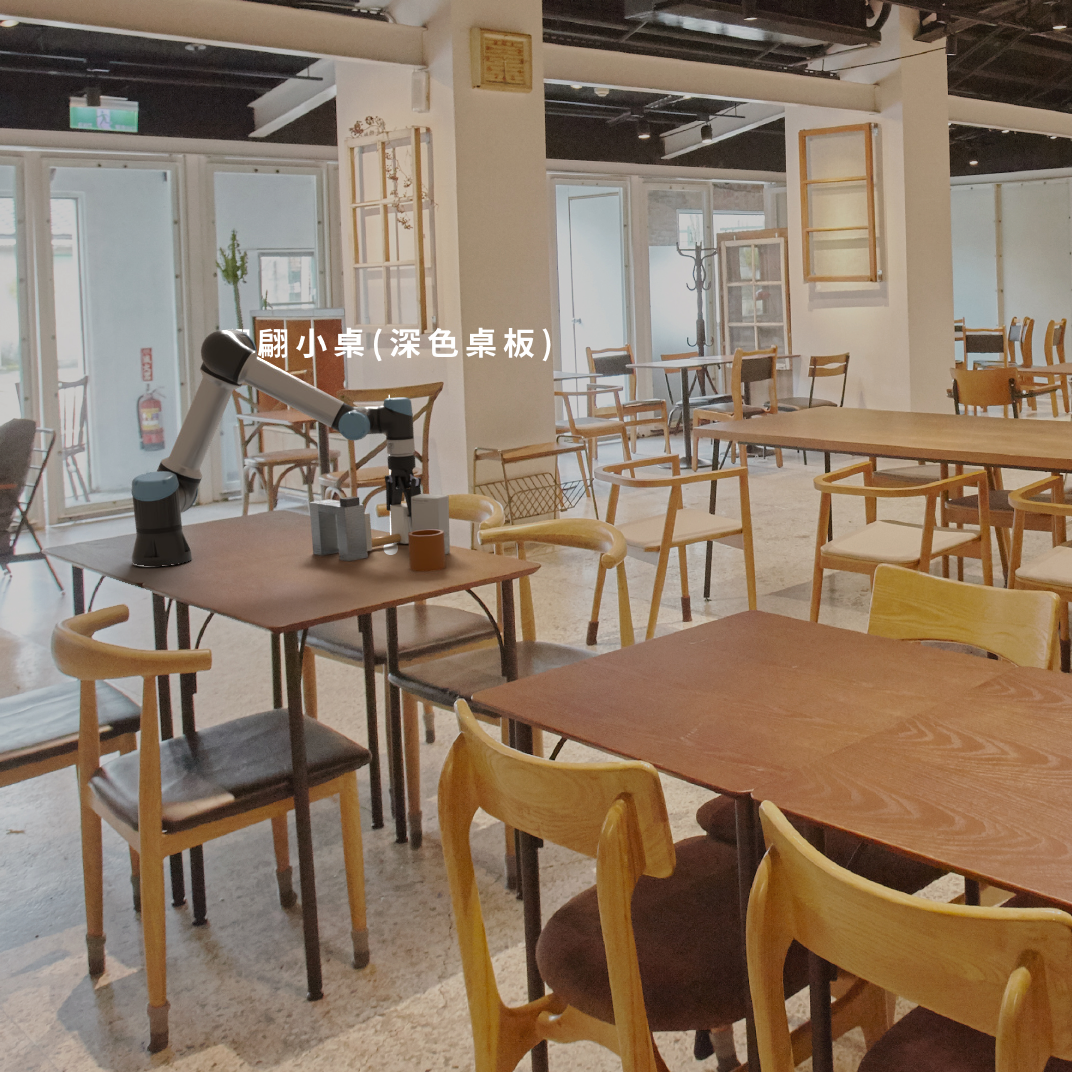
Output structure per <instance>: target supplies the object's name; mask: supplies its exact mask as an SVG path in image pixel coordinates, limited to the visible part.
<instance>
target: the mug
mask: <svg viewBox="0 0 1072 1072" xmlns="http://www.w3.org/2000/svg"><path fill="white" fill-rule="evenodd" d="M408 539H409V543H408V551H409V553H408V554H409V565H410V566H409V569H410V570H411V571H414V572H437V571H439V570H444V569H446V568H447V566H446V565H447V563H446V562H447V561H446V555H445V544H444V531H442V530H436V529H426V530H417V531H412V532H409V533H408Z"/></svg>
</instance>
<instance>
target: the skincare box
mask: <svg viewBox="0 0 1072 1072" xmlns="http://www.w3.org/2000/svg"><path fill="white" fill-rule="evenodd" d="M449 498H450V497H449V495H445V494H436V493H435V494H434V493H432V494H431V493H421V494H419V495H416V496H413V497H411V513H412V531H417V530H426V529H436V530H442V531H444V544H445V556H446V555H448V554H450V553H451V552H450V551H451V546H450V543H451V542H450V541H451V540H450V538H451V537H450V506H449V505H450V504H449V502H450V501H449V500H450V499H449Z"/></svg>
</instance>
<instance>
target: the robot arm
mask: <svg viewBox="0 0 1072 1072" xmlns="http://www.w3.org/2000/svg"><path fill="white" fill-rule="evenodd" d="M200 356H201V361H202V363H201V365H200V369H199V371H200V372H201V373H200V374H201V375H202V378H201V381H200V382H199V386H198V388H197V390H196V392H195V395H194V398H193V400H192V402H191V405H190V407H189V409H188V412H187V414H186V416H185V419H184V421H183V424H182V425H181V428H180V430H179V433H178V435H177V437H176V439H175V442H174V445H173V447H172V450H171V451H170V454H169V456H168V457H165V458H163V459H161V461H160V463H159V466H158V467H157V470H156V471H151V472H146V473H144V474H140V475H137V476H135V477H134V478H133V479H132V480H131V481H132V482H131V495H132V502H133V503H132V505H133V513H134V521H135V531H136V537H135V542H134V546H133V550H132V555H131V560H132V562H133V563H134V564H137V565H144V566H162V565H171V564H178V563H182V564H185V563H184V562H186V563H189V562H191V561H192V560H193V557H192V551H191V548H190V546H189V545H190V544H188V540H187V539H186V536H185V534H184V532H183V523H182V513H184V512H187V511H188V510H189V509H190V508H192V507H193V505H194V504H195V502H196V501H197V498H198V495H199V494H198V493H199V485H200V483H201V481H202V478H203V474H202V472H201V470H200V468H201V467H202V464H203V462H204V460H205V457H206V455H207V452H208V450H209V448H210V446H211V442H212V441H213V438H214V436H215V434H216V432H217V429H218V427H219V425H220V422H221V420H222V417H223V414H224V412H225V410H226V408H227V406H228V403H229V401H230V399H231V396H232V394H233V391H234V390H236V389H239V388H241V387H242V386H243V384H246V385H248V386H250V387H251V388H254V389H256V390H258V391H260V392H261V393H263V394H265V395H268V396H270V398H271V397H272V398H273V399H275V400H277V401H278V402H281V403H283V404H285V405H286V406H288V407H291V408H292V409H294V410H296V411H298V412H300V413H301V414H304V415H306V416H308V417H310V418H312V419H313V420H316V421H317V422H319V423H322V424H323V425H325V426H327V427H329V428H330V429H332V430H334V431H335V432H337V433H339V434H341V435H342V436H343V438H345V439H346V440H349V441H354V442H355V441H359V440H363V439H364V438H365V437H366V436H367V435H376V434H377V435H378V434H379V435H382V434H385V436H386V437H385V439H386V453H387V454H388V456H387V457H386V458H387V459H386V460H387V468H388V470H390V472H391V473H390V474H387V475H384V482H385V499H386V510H387V511H388V512H390V506H391V505H397V504H402V499H403V494H404V499H405V503H407V507H408V511H409V515H407V517H408V533H409V532H412V513H411V497H413V496H416V495H419V494H422V489H421V484H422V478H421V477H416V476H415V474H414V471H413V470H414V469H416V466H417V465H416V455H415V454H414V453H415V452H416V447H415V438H414V434H415V433H414V432H415V431H414V416H413V415H414V414H413V407H412V400H411V399H410V398H409V397H388V398H385V399H384V400H383V405H378V406H351V405H350V404H347V403H345V402H344V401H342V400H340V399H338V398H336V397H335V396H332V395H330V394H329V393H327V392H325V391H323V390H322V389H320V388H318V387H315V386H313V385H312V384H310V383H308V382H306V381H304V380H302V379H300V378H299V377H298V376H295V375H293V374H290V373H289V372H287V371H286V370H284V369H282V368H280V367H277V366H276V365H274V364H272V363H271V362H268V361H267V360H264V359H262V358H261V357H259V355H258V350H257V345H256V344H255V341H254V340H253V339H252V338H251V337H250V336H249V335H248V334H247V333H245V332H243V331H240V330H238V329H232V328H231V329H224V330H223V329H221V330H216V331H213V332H211V333H209V334H208V335H207V336H206V337H205V339H204V340H203V342H202V343H201V349H200ZM190 560H191V561H190ZM188 561H189V562H188ZM133 563H132V564H133ZM178 565H179V564H178Z"/></svg>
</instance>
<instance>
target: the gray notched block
mask: <svg viewBox="0 0 1072 1072" xmlns="http://www.w3.org/2000/svg"><path fill="white" fill-rule="evenodd" d="M365 513H366V511H365V504H362V503H360V497H359V496H347V497H346V496H345V497H339V500H335V499H329V498H327V499H322V500H317V501H316V500H315V501H310V502H309V516H310V528H311V529H310V530H311V541H312V554H313V555H315V556H327V555H332V554H338V555H339V560H340V561H345V562H352V561H357V560H362V559H367V558H369V557H368V551H367V542H366V527H365Z"/></svg>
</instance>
